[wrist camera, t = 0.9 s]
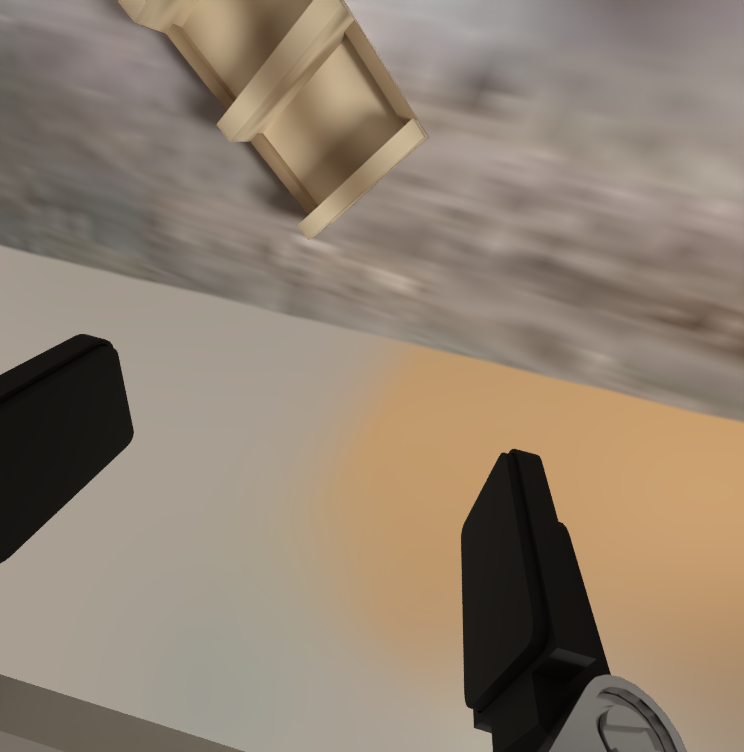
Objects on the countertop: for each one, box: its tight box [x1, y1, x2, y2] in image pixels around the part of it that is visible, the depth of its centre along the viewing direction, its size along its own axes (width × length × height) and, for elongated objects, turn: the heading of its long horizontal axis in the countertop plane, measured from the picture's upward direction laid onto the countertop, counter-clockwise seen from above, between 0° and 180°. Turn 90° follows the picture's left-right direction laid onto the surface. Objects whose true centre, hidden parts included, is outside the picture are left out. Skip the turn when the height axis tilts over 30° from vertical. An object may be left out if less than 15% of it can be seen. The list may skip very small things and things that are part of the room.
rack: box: [118, 0, 429, 240], centre depth 25 cm, size 10×17×5 cm, turn 39°
